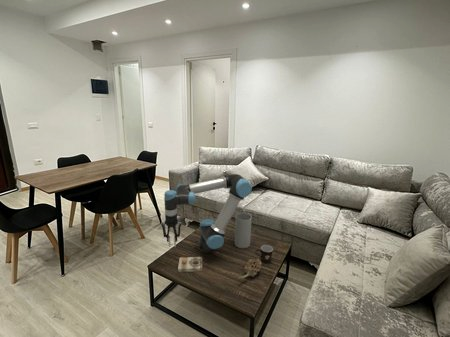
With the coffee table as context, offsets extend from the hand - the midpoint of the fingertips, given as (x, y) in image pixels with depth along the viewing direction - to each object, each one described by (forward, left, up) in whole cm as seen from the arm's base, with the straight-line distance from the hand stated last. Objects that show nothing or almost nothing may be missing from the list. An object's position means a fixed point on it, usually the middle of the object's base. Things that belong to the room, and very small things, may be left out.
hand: (172, 245), depth 162 cm
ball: (-8, 0, -12) cm, 15 cm away
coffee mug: (-65, -4, -17) cm, 67 cm away
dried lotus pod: (-51, +12, -17) cm, 55 cm away
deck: (-12, 0, -17) cm, 20 cm away
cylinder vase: (-52, -24, -17) cm, 60 cm away
